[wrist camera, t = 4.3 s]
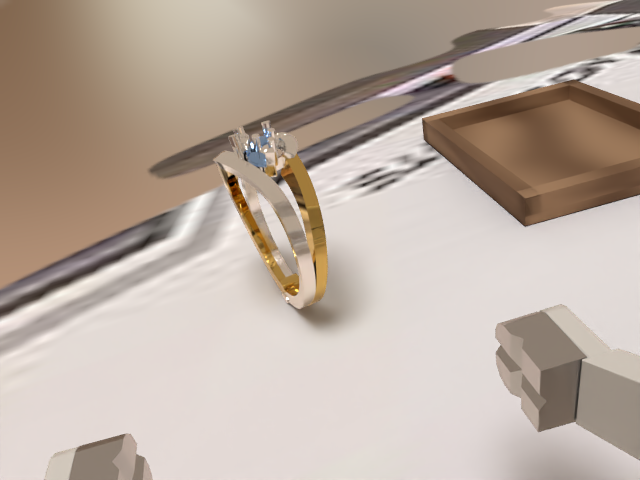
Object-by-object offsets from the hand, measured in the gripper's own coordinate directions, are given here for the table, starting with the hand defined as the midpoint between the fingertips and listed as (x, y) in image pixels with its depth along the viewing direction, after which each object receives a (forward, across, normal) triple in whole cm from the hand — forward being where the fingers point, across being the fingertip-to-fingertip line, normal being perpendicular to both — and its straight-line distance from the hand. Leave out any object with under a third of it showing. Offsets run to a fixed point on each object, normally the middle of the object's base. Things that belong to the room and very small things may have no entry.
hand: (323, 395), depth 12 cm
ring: (+11, 0, +6) cm, 13 cm away
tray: (+18, -17, +6) cm, 26 cm away
